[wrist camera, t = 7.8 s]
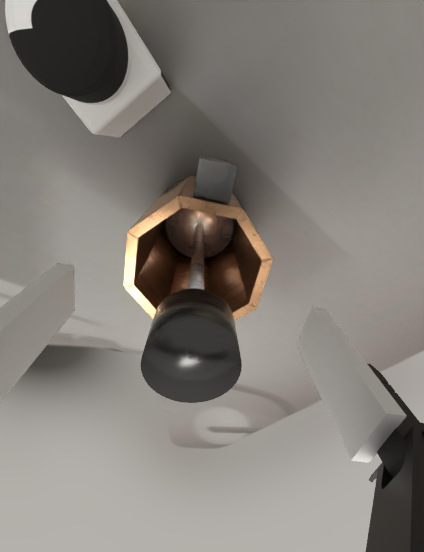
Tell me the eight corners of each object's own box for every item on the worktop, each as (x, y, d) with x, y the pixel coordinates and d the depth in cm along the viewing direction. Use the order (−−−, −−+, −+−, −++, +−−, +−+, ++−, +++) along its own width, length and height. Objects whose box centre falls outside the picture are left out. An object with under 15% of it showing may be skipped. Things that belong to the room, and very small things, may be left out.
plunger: (162, 249, 31) (92, 419, 12) (171, 184, 28) (95, 266, 8) (224, 261, 32) (256, 436, 12) (239, 199, 29) (315, 304, 9)
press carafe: (151, 254, 33) (118, 321, 20) (164, 146, 27) (129, 142, 15) (231, 269, 34) (248, 340, 21) (258, 167, 28) (302, 182, 16)
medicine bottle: (173, 92, 25) (150, 49, 14) (119, 139, 27) (62, 132, 16) (122, 10, 23) (47, -117, 12) (65, 68, 24) (-47, 2, 13)
